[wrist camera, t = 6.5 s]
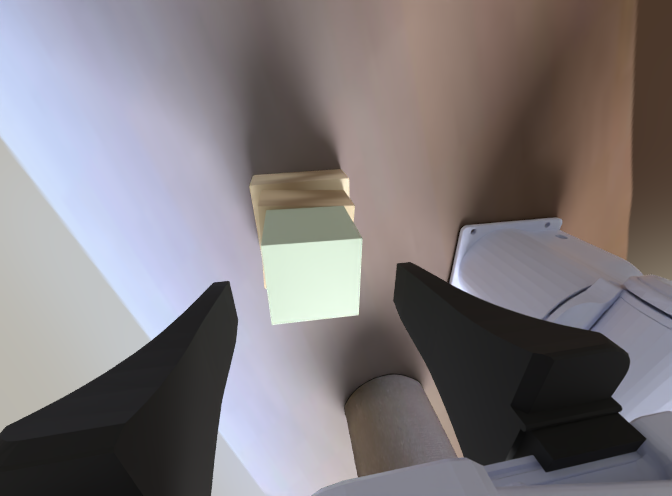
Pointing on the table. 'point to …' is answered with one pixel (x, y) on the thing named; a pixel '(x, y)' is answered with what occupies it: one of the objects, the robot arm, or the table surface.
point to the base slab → (296, 185)
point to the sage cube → (311, 264)
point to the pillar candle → (394, 426)
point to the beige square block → (301, 202)
